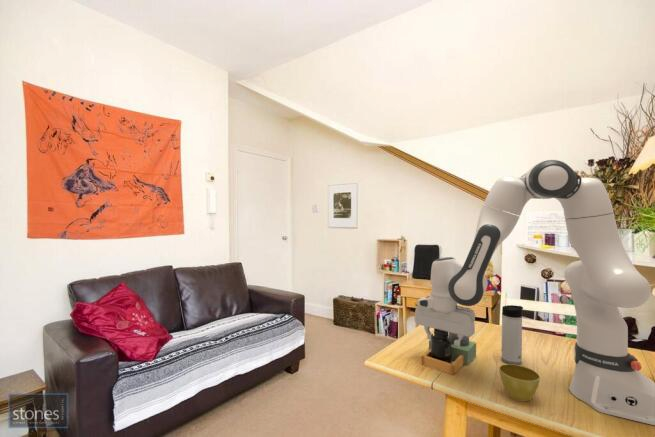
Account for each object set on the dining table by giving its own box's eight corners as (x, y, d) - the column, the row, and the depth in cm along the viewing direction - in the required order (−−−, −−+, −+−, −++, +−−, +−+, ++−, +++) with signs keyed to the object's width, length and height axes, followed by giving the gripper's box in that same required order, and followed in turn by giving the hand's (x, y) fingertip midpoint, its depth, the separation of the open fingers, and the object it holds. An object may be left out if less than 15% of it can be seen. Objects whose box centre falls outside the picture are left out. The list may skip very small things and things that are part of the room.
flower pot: (502, 383, 98) (502, 360, 98) (541, 395, 92) (541, 370, 92) (495, 397, 90) (495, 372, 90) (537, 411, 84) (537, 385, 84)
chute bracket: (463, 364, 110) (463, 355, 110) (453, 375, 103) (453, 365, 103) (432, 355, 118) (432, 347, 118) (421, 364, 110) (421, 356, 110)
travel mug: (525, 366, 109) (526, 309, 109) (504, 364, 111) (505, 307, 110) (518, 358, 115) (519, 304, 115) (498, 356, 117) (499, 303, 117)
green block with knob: (476, 356, 117) (476, 329, 117) (467, 365, 109) (468, 337, 109) (438, 345, 126) (439, 321, 126) (428, 353, 119) (429, 327, 119)
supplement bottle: (447, 359, 114) (448, 326, 114) (453, 368, 107) (454, 333, 107) (428, 358, 115) (429, 325, 114) (433, 367, 108) (434, 332, 108)
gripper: (477, 307, 106) (477, 347, 106) (420, 296, 119) (419, 332, 119) (472, 311, 101) (471, 353, 101) (412, 299, 115) (412, 337, 115)
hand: (443, 342), depth 111 cm, fingers open, 8 cm apart
